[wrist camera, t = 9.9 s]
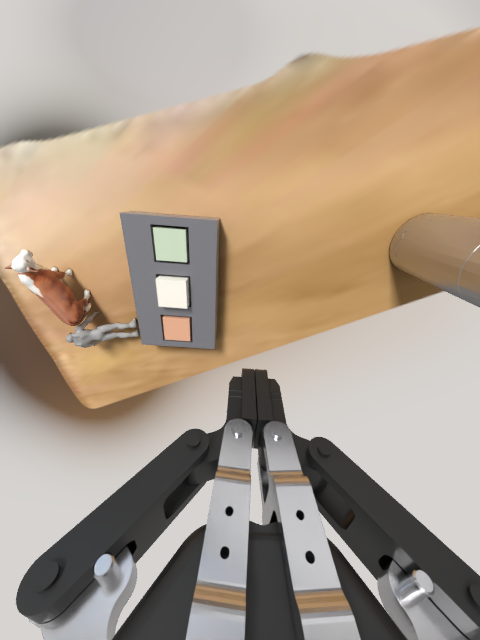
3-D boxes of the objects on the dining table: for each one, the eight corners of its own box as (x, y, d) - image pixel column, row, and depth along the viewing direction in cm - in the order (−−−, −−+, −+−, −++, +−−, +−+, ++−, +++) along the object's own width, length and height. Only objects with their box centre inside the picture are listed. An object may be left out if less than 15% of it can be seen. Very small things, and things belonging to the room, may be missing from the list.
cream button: (189, 275, 38) (185, 281, 36) (190, 301, 41) (187, 308, 38) (161, 273, 38) (155, 279, 36) (164, 299, 41) (158, 306, 38)
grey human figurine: (134, 306, 47) (66, 314, 43) (133, 318, 42) (57, 327, 39) (140, 332, 50) (77, 341, 46) (139, 345, 46) (70, 357, 42)
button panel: (219, 218, 36) (217, 220, 33) (216, 337, 47) (214, 349, 44) (131, 211, 36) (119, 212, 32) (149, 333, 47) (141, 344, 44)
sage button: (189, 227, 36) (185, 229, 33) (190, 257, 38) (186, 262, 36) (159, 225, 36) (152, 227, 33) (162, 255, 38) (156, 260, 35)
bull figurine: (57, 240, 38) (14, 250, 31) (103, 308, 44) (76, 329, 37) (36, 248, 39) (-11, 260, 32) (84, 314, 45) (55, 336, 38)
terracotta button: (192, 311, 43) (189, 319, 40) (193, 332, 45) (190, 341, 43) (167, 309, 43) (162, 317, 40) (169, 331, 45) (164, 339, 43)
